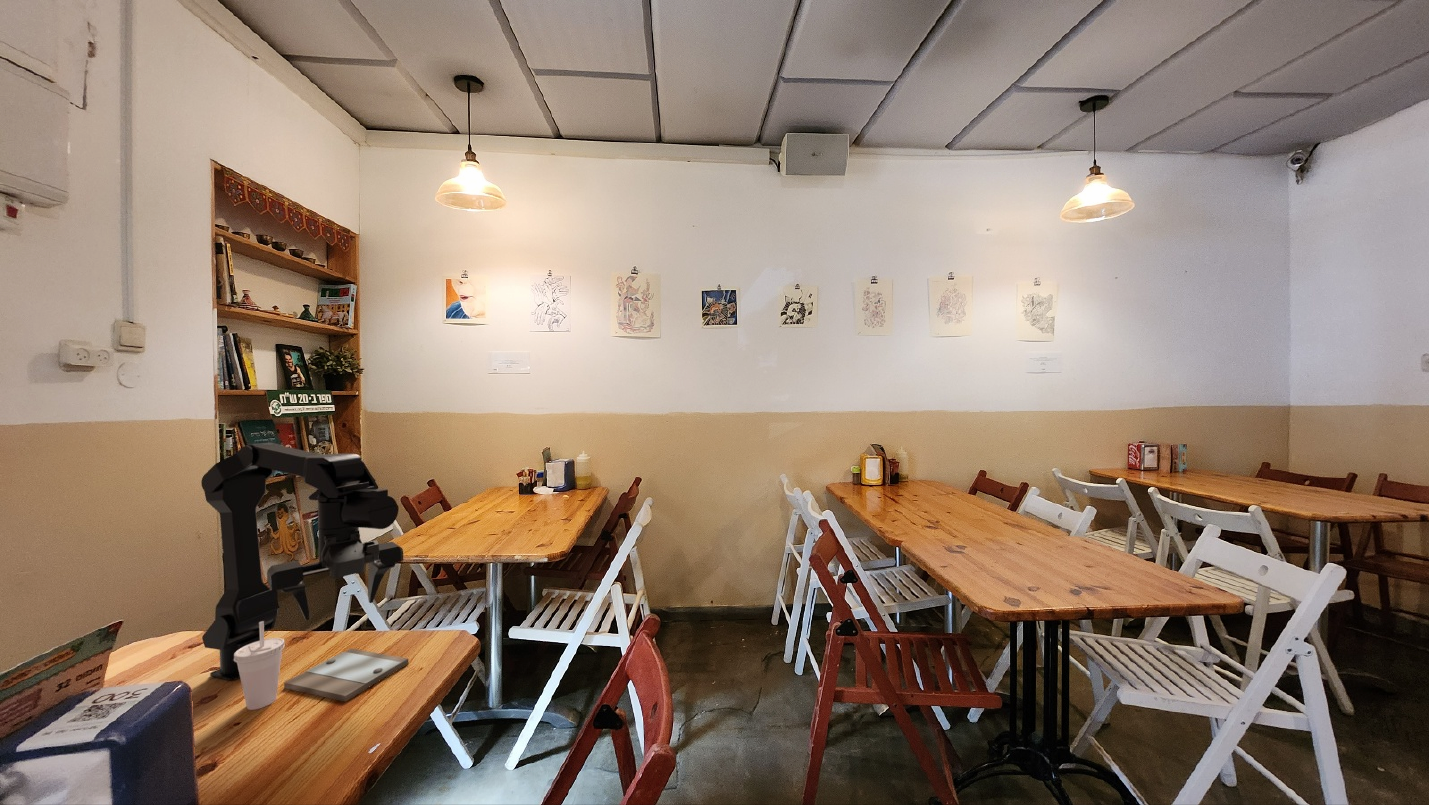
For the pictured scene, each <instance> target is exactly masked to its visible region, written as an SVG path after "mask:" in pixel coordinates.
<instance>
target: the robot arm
mask: <svg viewBox="0 0 1429 805" xmlns="http://www.w3.org/2000/svg"><path fill="white" fill-rule="evenodd" d="M276 472H279V473H280V472H281V473H284V474H290V475H294V476H297V477H301V478H303V481H304V483H305V484H306V485H308V486H311V487H312V488H314V489H316V490H315V491H314V492H312V493H311V494H310V495H309V496H308V500H310V501H317V517H318V519H317V520H318V522H317V525H318V526H317V528H318V529H317V530H318V535H317V536H318V562H313V563H308V564H307V563H306V564H301V563H300V562H299V561H298V560H293V561H289V562H283V563H279V564H274V565H271V566H270V567H269V568H268V569H267V571H266V572H267V573H266V582H267V584H265V583H264V582H263V576H262V574H263V573H262V562H261V555H260V554H261V553H260V541H259V540H260V539H259V531H258V520H257V507H258V505H259V504H260V502H261V500H262V499H263V497H264V496H265V494H266V492H267V491H266V489H267V488H266V487H267V484H266V483H267V481H268V480H269V479H270V478H271V477H272V476H273V475H274V474H275V473H276ZM200 482H201V483H200V484H201V485H200V486H201V487H202V490H203V492H204V497H205V500H206V501H205V502H207V503H208V504H209V506H211V507H212V508H214V509H215V511H217V512H218V513H219V519H220V520H219V521H220V530H221V532H220V533H221V543H222V555H223V565H224V567H223V568H224V576H225V591H224V592H223V594H222V596H221V598H219V601H218V602H217V604H216V605H215V613H214V614H215V615H214V616H215V617H214V619H215V620H214V621H213V622H212V624H211V625H210V626H209V627H208V629H207V630H206V631H205V632H204V634H203V635H202V637H201V639H202V643H203V645H204V648H206V649H211V650H212V649H213V650H217V651H218V650H219V668H218V669H216V670H213V671H212V672H210V673H209V676H210V677H214V678H218V679H222V680H226V681H231V682H232V681H235V680H236V679H239V678H240V674H239V670H238V665H237V662H235V661H234V653H235V652H236V651H237V650H239V649H240V648H242V647H244V646H246V645H248V644H251V643H254V642H257V641H260V631H259V622H262V621H264V633H265V632H267V631H270V630H273V629H274V628H275V625H276V624H275V623H276V620H277V616H278V614H279V609H280V608H281V607H280V605H279V601H278V594H279V593H278V591H280V592H282V593H284V594H285V593H290V594H292V596H293V598H294V599H295V601H296V602H297V605H298V607H299V609H300V611H301V613H302V616H303V618H304V620H305V621H306V622H307V621H309V620H310V609H309V602H308V598H307V590H306V589H307V586H306V584H305V582H304V581H303V580H304V577H308V576H309V577H310V576H312V575H318V574H322V573H326V572H329V574H330V577H331V578H332V579H338V580H339V579H342V578H344V577H346V576H351V575H354V574H355V575H356V574H357V575H359V574H362V573H365V571H367V569H366V568H367V564H368V579H367V580H368V582H367V583H368V585H367V598H368V603H369V604H372V603H373V602H374V601H375V597H376V595H377V592H378V589H379V588H380V584H381V582H382V580H383V578H384V576H385V574H386V573H387V572H388V571H390V569H392V568H394V567H395V566H396V563H400V562H403V561H404V550H403V547H402V546H399V545H398V544H397V543H395V542H394V541H388V542H384V543H383V542H382V543H379V541H378V540H377V539H375V540H370V541H365V542H362V540H361V533H360V528H362V529H372V530H373V529H375V530H385V529H387V528H389V527H390V526H392V525H393V524H394V523H395V521H396V520H397V517H398V515H399V509H400V508H399V505H398V503H397V500H395V498H393V497H392V496H390V495H389V489H387V488H380V489H379V485H378V484H377V482H376V478H374V477H373V476H372V474H371V472H370V470H369V469H368V467H367V465H366V464H365V462H364V460H362V457H361V456H360V455H359V454H357V453H351V452H350V453H327V454H326V453H325V454H324V453H323V454H320V453H318V452H317V453H316V452H311V451H308V450H303V449H298V448H293V447H289V446H284V445H280V444H279V443H276V442H263V443H261V442H260V443H250V444H249V443H248V444H246V445H244V446H242V447H240V448H239V449H238V451H237V452H236V453H234V454H231V455H230V456H228V457H226V458H224V459H222V460H220V461H218V462H216V463H215V464H214V465H212V467H210V468H209V469H208V471H207V472H205V474H203V475H202V478H201V480H200Z"/></svg>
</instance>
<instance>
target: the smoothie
mask: <svg viewBox="0 0 1429 805" xmlns="http://www.w3.org/2000/svg"><path fill="white" fill-rule="evenodd" d="M259 631H260V641H257V642H254V643H251V644H248V645H246V646H244V647H242V648H240V649H239V650H237V651H236V652H235V653H234V661H235V662H237V665H238V670H239V674H240V677H239V678H240V683H241V688H242V692H243V697H244V702H245V705H246V709H247V710H249V711H250V710H251V711H254V710H259V709H261V708H264V707H267V706H269V705H271V704H273V703H274V702H275V701H276V700H277V696H278V695H277V694H278V687H279V680H280V673H281V672H280V671H281V663H282V656H283V650H284V648H285V647H286V646H285V645H286V644H285V639H284V638H280V637H273V638H272V637H271V638H270V637H269V638H265V632H264V621H262V622H259Z"/></svg>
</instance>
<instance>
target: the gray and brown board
mask: <svg viewBox="0 0 1429 805" xmlns="http://www.w3.org/2000/svg"><path fill="white" fill-rule="evenodd" d="M407 665H409V658H407V657H403V656H402V657H401V656H396V655H390V654H384V653H378V652H373V651H368V650H362V649H357V648H349V649H347V650H345V651H343V652H340V653H337V655H334V656H333V657H331V658H329V659H326V660H325V661H322V662H321V663H319V664H317V665H315V666H312V667H311V668H309V669H307V670H305V671H304V672H302V673H300V674H297V675H296V676H294V677H292V678H290V679H288V680H287V681H284V682H283V686H284V689H286V690H292V691H296V692H300V693H301V692H302V693H305V694H309V695H314V694H315V695H314V696H318V695H319V697H324V698H328V699H332V700H337V701H341V702H348V701H350V700H351V699H353V698H354V697H356V696H358V695H359V694H360V693H362V692H364V691H366V690H367V688H368V687H369V686H371V687H373V686H374V685H376V684H377V683H379V682H380V681H379V680H381V679H382V680H384V679H385V678H384V677H386V678H387V677H389V676H391V675H392V674H394V673H396V672H397V671H399V670H401V669H402V668H403V667H405V666H407ZM398 669H399V670H398ZM396 670H397V671H396ZM395 671H396V672H395ZM393 672H394V673H393ZM390 674H391V675H390ZM383 678H384V679H383ZM382 680H381V681H382ZM378 681H379V682H378ZM375 683H376V684H375ZM373 684H374V685H373ZM369 688H370V687H369ZM369 688H368V689H369ZM365 689H366V690H365ZM357 694H358V695H357Z"/></svg>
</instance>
